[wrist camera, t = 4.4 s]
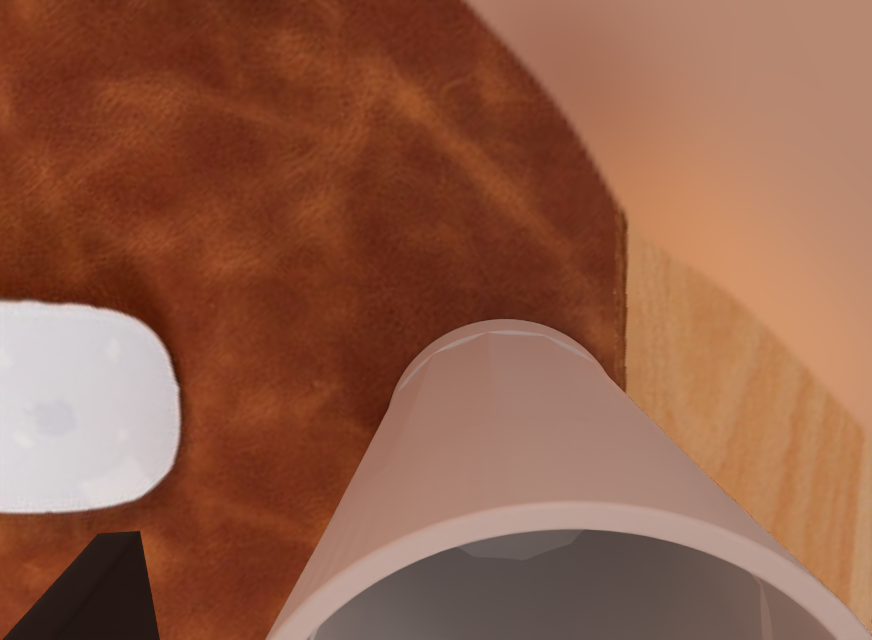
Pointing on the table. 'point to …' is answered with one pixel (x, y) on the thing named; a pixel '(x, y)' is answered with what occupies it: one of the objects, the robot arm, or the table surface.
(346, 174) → the table surface
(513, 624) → the cup
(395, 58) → the table surface
